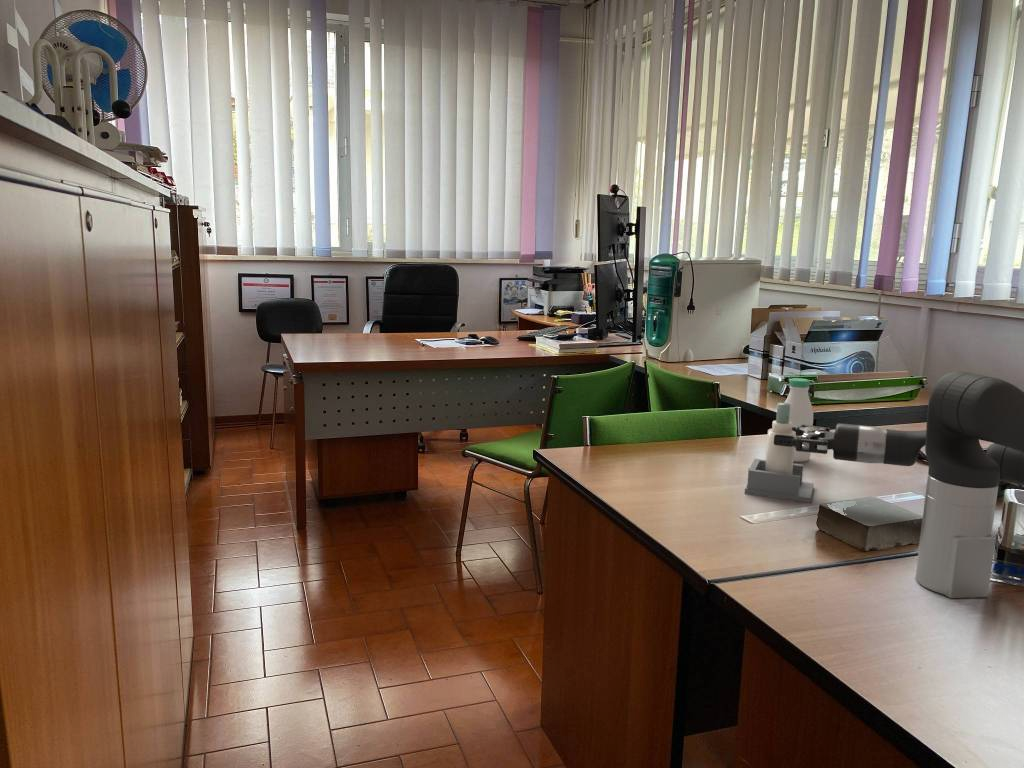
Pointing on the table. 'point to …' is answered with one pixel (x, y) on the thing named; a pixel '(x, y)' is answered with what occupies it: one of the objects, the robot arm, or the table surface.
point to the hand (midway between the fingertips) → (775, 434)
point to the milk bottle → (800, 410)
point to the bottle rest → (778, 483)
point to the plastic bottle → (777, 455)
